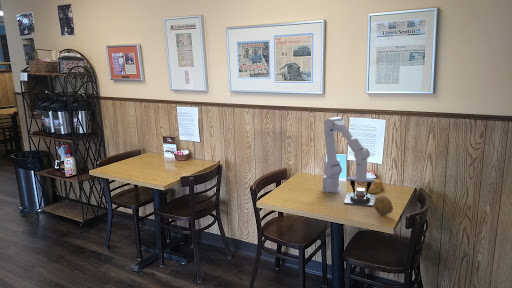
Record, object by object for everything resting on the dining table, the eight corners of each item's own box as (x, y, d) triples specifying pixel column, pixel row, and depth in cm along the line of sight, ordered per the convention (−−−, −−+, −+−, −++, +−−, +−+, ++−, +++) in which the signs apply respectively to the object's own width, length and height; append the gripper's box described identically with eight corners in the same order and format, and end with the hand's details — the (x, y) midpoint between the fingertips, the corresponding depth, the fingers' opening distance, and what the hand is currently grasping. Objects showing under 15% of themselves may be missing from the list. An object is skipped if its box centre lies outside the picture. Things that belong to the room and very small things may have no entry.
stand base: (343, 204, 208) (344, 197, 207) (347, 194, 222) (347, 188, 221) (374, 207, 202) (374, 200, 202) (375, 196, 217) (376, 190, 216)
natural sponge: (370, 211, 197) (371, 193, 195) (387, 210, 198) (388, 192, 195) (376, 218, 188) (377, 199, 186) (394, 217, 189) (395, 198, 186)
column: (355, 201, 211) (356, 190, 210) (356, 198, 215) (356, 187, 214) (364, 201, 210) (364, 190, 208) (364, 199, 214) (364, 188, 212)
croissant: (372, 201, 219) (379, 191, 216) (357, 191, 223) (363, 180, 220) (383, 190, 236) (390, 180, 232) (369, 180, 240) (376, 170, 236)
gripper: (346, 171, 207) (346, 195, 210) (374, 173, 202) (373, 197, 205) (348, 168, 214) (347, 191, 217) (375, 170, 209) (374, 193, 212)
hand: (360, 194), depth 212 cm, fingers open, 6 cm apart
